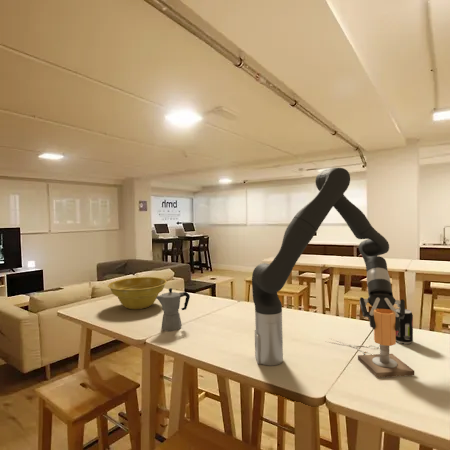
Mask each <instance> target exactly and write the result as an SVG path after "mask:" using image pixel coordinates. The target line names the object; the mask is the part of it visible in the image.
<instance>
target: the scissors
mask: <svg viewBox="0 0 450 450" xmlns="http://www.w3.org/2000/svg"><path fill="white" fill-rule="evenodd" d="M330 340H332V341H335V342H331V341H329V343H331V344H334V345H339V346H346V347H350V348H352V347H353V348H352V349H355V348H356V350H357V351H358V352H361V351H362V352H363V353H362V355H364V354H365V355H367V353H364V350H362V349H360V348H361V347H362V348H364V347H363V346H364V345H363V344H362V345H356V344H348V343H345V342H342V341H340V340H336V339H333V338H330ZM325 342H327V341H325ZM365 346H366V347H365V348H368V347H367V346H368V345H365ZM365 352H367V351H365Z"/></svg>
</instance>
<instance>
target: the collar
mask: <svg viewBox="0 0 450 450" xmlns="http://www.w3.org/2000/svg"><path fill="white" fill-rule="evenodd" d="M374 319H375V326H376V328H375V329H373V340H374V343H375V344H378V345H379V346H380V345H386V346H389V347H390V346H394V345H396V344H397V342H396V331H395V312H394V311H393V310H390V309H376V310H375V309H374Z"/></svg>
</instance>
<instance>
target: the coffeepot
mask: <svg viewBox="0 0 450 450" xmlns="http://www.w3.org/2000/svg"><path fill="white" fill-rule="evenodd" d="M183 297H185V301H184V304H183V305H184V307H181V308H180V304H181V298H183ZM190 297H191V296H190V294H189V293H188V292H187V291H181V292H180V291H179V292H176V291H173V288H168V292H166V293H162V294H160V295H158V296H157V297H156V300H158V302H159V303H160V304H161V309H162V311H163V314H162V322H161V330H163V331H165V332H175V331H178V330H180V329H181V328H182V326H183V325H182V320H181V319H182V318H181V315H180V312H179V309H181V311H185V310H187V308H188V305H189V301H190Z"/></svg>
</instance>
